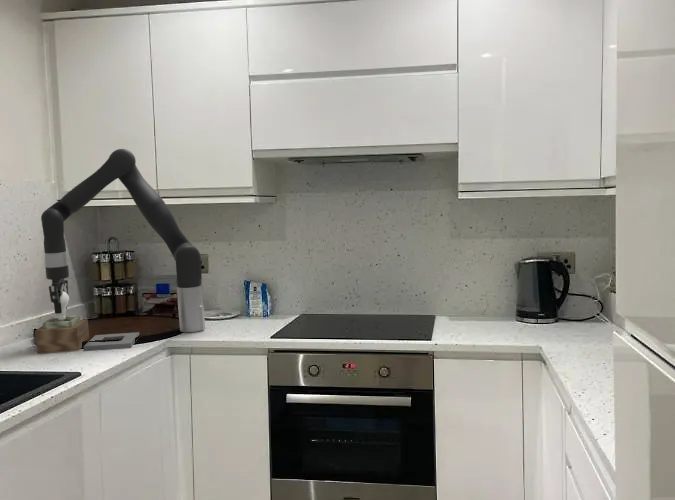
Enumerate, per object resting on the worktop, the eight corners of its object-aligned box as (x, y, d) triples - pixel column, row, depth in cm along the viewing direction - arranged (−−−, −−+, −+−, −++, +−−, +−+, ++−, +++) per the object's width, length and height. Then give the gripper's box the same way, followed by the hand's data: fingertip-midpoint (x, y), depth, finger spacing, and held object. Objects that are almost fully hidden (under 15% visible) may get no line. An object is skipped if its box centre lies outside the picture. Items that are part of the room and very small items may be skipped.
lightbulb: (49, 322, 232) (45, 292, 231) (63, 318, 237) (60, 288, 236) (60, 323, 229) (57, 292, 228) (74, 319, 235) (72, 289, 233)
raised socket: (89, 340, 242) (87, 314, 241) (78, 350, 228) (76, 322, 227) (50, 343, 241) (47, 316, 239) (37, 353, 227) (34, 325, 226)
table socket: (139, 336, 245) (139, 332, 245) (131, 347, 229) (130, 343, 229) (95, 339, 243) (95, 335, 243) (84, 350, 227) (83, 346, 227)
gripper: (61, 267, 224) (66, 315, 226) (73, 261, 238) (77, 306, 240) (38, 268, 223) (43, 316, 225) (52, 262, 238) (56, 308, 240)
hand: (61, 311), depth 233 cm, fingers closed on lightbulb, 5 cm apart
